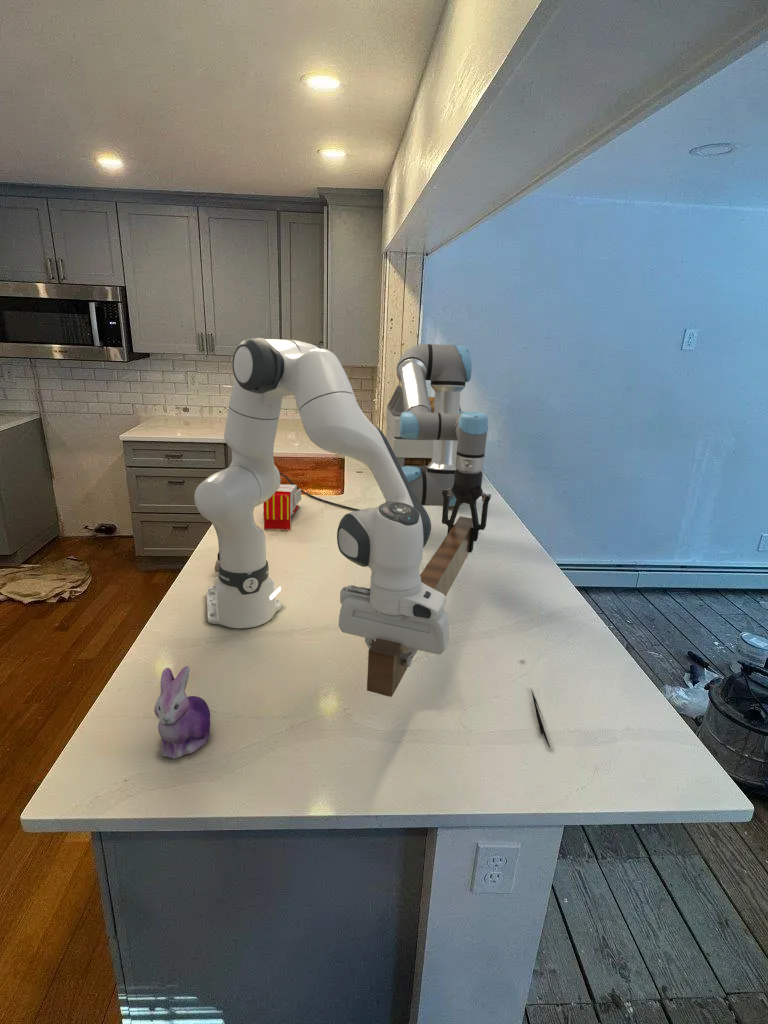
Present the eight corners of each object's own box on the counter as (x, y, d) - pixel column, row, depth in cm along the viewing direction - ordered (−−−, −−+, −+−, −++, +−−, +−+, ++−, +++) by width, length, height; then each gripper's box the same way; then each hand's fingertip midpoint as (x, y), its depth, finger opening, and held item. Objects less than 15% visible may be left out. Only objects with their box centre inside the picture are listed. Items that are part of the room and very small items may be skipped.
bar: (457, 543, 168) (459, 516, 165) (473, 545, 166) (476, 518, 163) (366, 690, 101) (368, 650, 98) (391, 697, 99) (394, 656, 97)
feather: (522, 665, 130) (528, 659, 129) (549, 752, 103) (556, 745, 103) (516, 662, 130) (522, 655, 129) (542, 747, 103) (549, 740, 103)
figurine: (162, 769, 95) (153, 695, 90) (154, 730, 104) (146, 661, 99) (219, 752, 99) (214, 680, 94) (207, 716, 108) (202, 648, 103)
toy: (303, 479, 223) (293, 493, 194) (302, 513, 226) (293, 531, 196) (272, 479, 223) (257, 492, 193) (272, 512, 225) (258, 530, 196)
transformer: (382, 463, 289) (386, 382, 275) (445, 464, 293) (451, 384, 279) (390, 482, 257) (394, 392, 243) (460, 483, 261) (468, 394, 247)
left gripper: (333, 590, 100) (332, 657, 105) (446, 614, 94) (440, 684, 99) (347, 575, 106) (345, 639, 110) (454, 597, 100) (448, 664, 104)
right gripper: (433, 469, 153) (427, 548, 161) (499, 478, 147) (490, 559, 155) (440, 462, 159) (434, 539, 167) (503, 471, 154) (494, 549, 162)
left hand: (391, 660), depth 104 cm, fingers closed on bar, 5 cm apart
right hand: (461, 549), depth 161 cm, fingers closed on bar, 5 cm apart
